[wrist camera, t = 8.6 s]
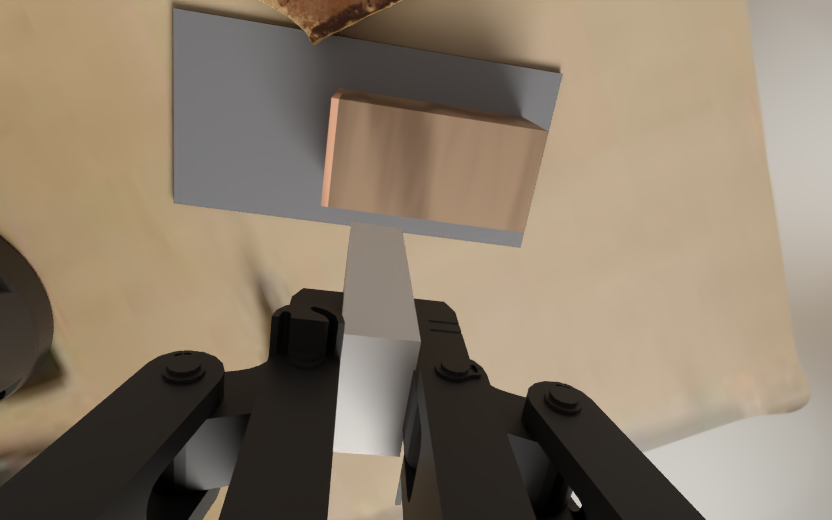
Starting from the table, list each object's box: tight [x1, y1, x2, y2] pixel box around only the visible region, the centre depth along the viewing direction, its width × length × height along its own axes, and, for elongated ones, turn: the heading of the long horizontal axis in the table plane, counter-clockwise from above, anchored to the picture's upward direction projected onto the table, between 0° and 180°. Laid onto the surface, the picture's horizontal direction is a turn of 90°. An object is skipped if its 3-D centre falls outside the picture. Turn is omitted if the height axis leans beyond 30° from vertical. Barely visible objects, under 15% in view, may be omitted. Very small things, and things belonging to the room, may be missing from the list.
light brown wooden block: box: [321, 88, 549, 233], centre depth 34 cm, size 6×6×12 cm
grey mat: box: [173, 8, 563, 248], centre depth 36 cm, size 24×12×1 cm, turn 81°
